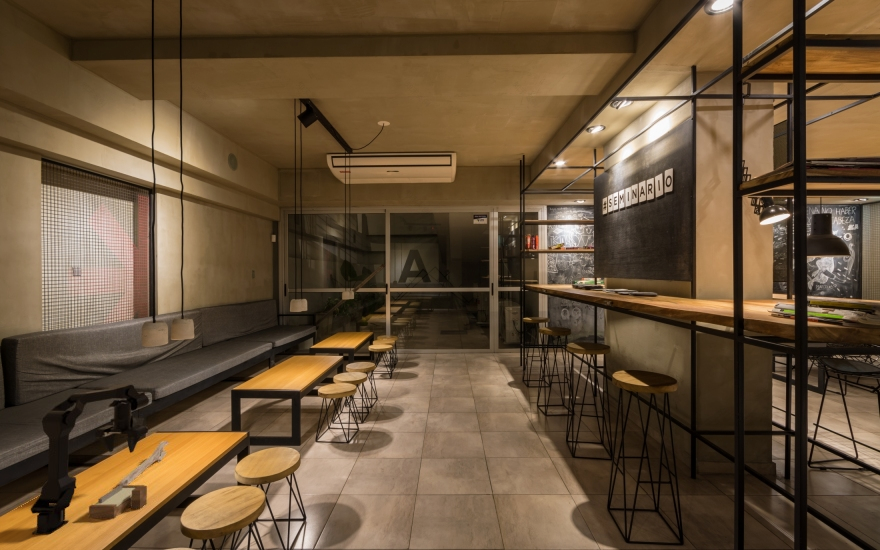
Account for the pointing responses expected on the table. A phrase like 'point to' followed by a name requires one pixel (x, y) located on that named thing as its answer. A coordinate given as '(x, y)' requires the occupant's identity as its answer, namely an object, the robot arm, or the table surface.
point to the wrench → (146, 463)
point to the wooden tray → (110, 507)
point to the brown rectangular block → (139, 497)
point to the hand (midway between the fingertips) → (121, 451)
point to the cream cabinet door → (115, 496)
